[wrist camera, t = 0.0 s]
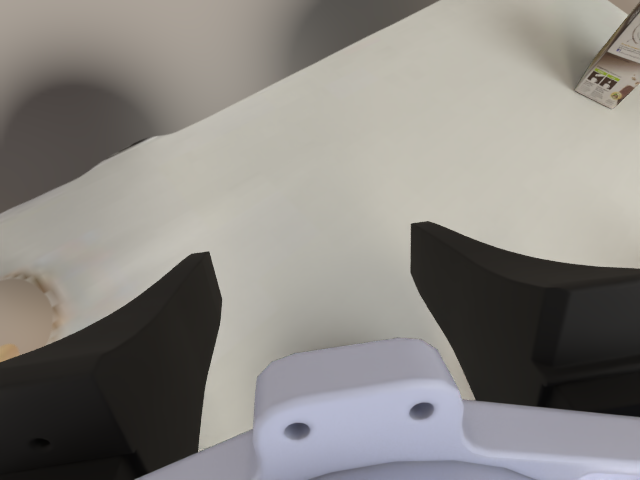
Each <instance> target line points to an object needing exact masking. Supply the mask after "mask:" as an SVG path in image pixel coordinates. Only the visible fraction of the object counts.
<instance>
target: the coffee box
mask: <svg viewBox="0 0 640 480" xmlns="http://www.w3.org/2000/svg"><path fill="white" fill-rule="evenodd" d="M639 83H640V2H639V3H638V4H637V6H636V7H635V8H634V9H633V11H632V12H631V13H630V14H629V15H628V17H627V18H626V19H625V20H624V22H623V23H622V24H621V25H620V27H619V28H618V29H617V30H616V32H615V33H614V34H613V35H612V37H611V38H610V39H609V40H608V42H607V43H606V44H605V45H604V47H603V48H602V49H601V50H600V52H599V53H598V54H597V55H596V57H595V58H594V59H593V61H592V63H591V64H590V66H589V67H588V69H587V71H586V72H585V74H584V75H583V77H582V79H581V80H580V82H579V84H578V85H577V87H576V88H575V91H576V92H578V93H580V94H582V95H584V96H586V97H588V98H590V99H593V100H595V101H597V102H599V103H601V104H603V105H605V106H607V107H609V108H611V109H613V108H614V107H616V106H617V105H618V104H619V103H620V102H621V101H622V100H623V99H624V98H625V97H626V96H627V95H628V94H629V93H630V92H631V91H632V90H633V89H634V88H635V87H636V86H637V85H638V84H639Z"/></svg>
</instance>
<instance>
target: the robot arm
mask: <svg viewBox="0 0 640 480" xmlns="http://www.w3.org/2000/svg"><path fill="white" fill-rule="evenodd" d="M411 275H412V277H413V280H414V282H415V285H416V287H417V289H418V291H419V294H420V295H421V297H422V299H423V300H424V302H425V304H426V305H427V307H428V309H429V310H430V312H431V314H432V315H433V317H434V318H435V320H436V322H437V323H438V325H439V326H440V328H441V330H442V331H443V333H444V334H445V336H446V338H447V339H448V341H449V343H450V345H451V347H452V348H453V350H454V352H455V355H456V357H457V359H458V361H459V363H460V365H461V367H462V370H463V372H464V374H465V376H466V378H467V381H468V383H469V385H470V388H471V390H472V392H473V394H474V397H475V399H476V401H474V400H464V399H462V398H461V395H460V391H459V389H458V387H457V385H456V383H455V381H454V380H453V378H452V376H451V374H450V372H449V370H448V368H447V367H446V365H445V363H444V361H443V359H442V357H441V355H440V354H439V352H438V350H437V349H436V348H434V347H433V346H431V345H430V344H428V343H427V342H425V341H423V340H422V339H413V338H392V339H386V340H379V341H373V342H366V343H359V344H353V345H346V346H340V347H333V348H326V349H320V350H313V351H307V352H300V353H294V354H291V355H289V356H286V357H283V358H280V359H278V360H275V361H272V362H271V363H270V364H269V365H268V366H267V367H266V368H265V369H264V370H263V371H262V372H261V373H260V375H259V376H258V377H257V382H256V391H255V403H254V419H253V429H251V430H249V431H247V432H244V433H242V434H240V435H237V436H235V437H233V438H230V439H228V440H226V441H223V442H221V443H219V444H216V445H214V446H212V447H209V448H207V449H205V450H202V451H200V452H198V445H199V435H200V425H201V416H202V407H203V399H204V391H205V385H206V380H207V375H208V371H209V367H210V363H211V359H212V355H213V351H214V347H215V343H216V339H217V334H218V330H219V326H220V319H221V308H222V297H221V293H220V289H219V286H218V282H217V278H216V275H215V271H214V267H213V264H212V260H211V256H210V253H209V252H202V253H194V254H191V255H189V256H188V257H186V258H185V259H184V260H183V261H181V262H180V263H179V264H178V265H177V266H175V267H174V268H173V269H172V270H171V271H169V272H168V273H167V274H166V275H165V276H163V277H162V278H161V279H160V280H159V281H157V282H156V283H155V284H154V285H152V286H151V287H150V288H148V289H147V290H146V291H144V292H143V293H142V294H140V295H139V296H138V297H136V298H135V299H134V300H132V301H131V302H129V303H128V304H126V305H125V306H123V307H121V308H120V309H118V310H117V311H115V312H113V313H112V314H110V315H108V316H107V317H105V318H103V319H101V320H99V321H97V322H95V323H93V324H92V325H90V326H88V327H86V328H84V329H82V330H80V331H78V332H76V333H74V334H72V335H69V336H67V337H65V338H63V339H61V340H58V341H56V342H53V343H51V344H49V345H46V346H44V347H42V348H39V349H36V350H34V351H31V352H28V353H25V354H22V355H20V356H17V357H14V358H11V359H9V360H6V361H3V362H0V480H640V269H634V268H613V267H596V266H586V265H577V264H569V263H562V262H555V261H550V260H544V259H539V258H534V257H529V256H525V255H521V254H517V253H514V252H510V251H506V250H503V249H500V248H496V247H494V246H491V245H488V244H485V243H482V242H479V241H477V240H474V239H472V238H469V237H467V236H464V235H462V234H459V233H457V232H455V231H452V230H450V229H448V228H445V227H443V226H440V225H438V224H435V223H432V222H429V221H426V222H419V223H412V224H411Z"/></svg>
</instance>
